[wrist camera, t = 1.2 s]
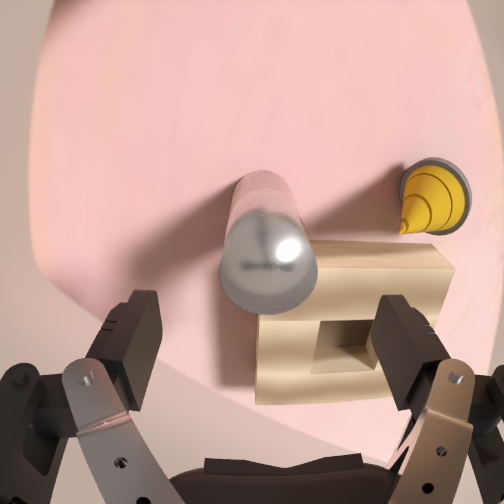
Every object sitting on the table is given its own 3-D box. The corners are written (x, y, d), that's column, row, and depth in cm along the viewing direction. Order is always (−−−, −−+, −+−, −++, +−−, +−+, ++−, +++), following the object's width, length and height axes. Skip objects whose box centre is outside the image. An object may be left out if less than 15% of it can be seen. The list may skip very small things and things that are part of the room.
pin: (232, 169, 21) (218, 229, 12) (292, 171, 21) (323, 231, 12) (232, 225, 23) (220, 313, 14) (289, 226, 23) (311, 315, 14)
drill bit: (436, 227, 23) (387, 288, 18) (404, 170, 24) (342, 208, 18) (489, 202, 19) (464, 261, 13) (454, 138, 19) (413, 164, 14)
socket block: (260, 239, 23) (262, 267, 20) (431, 244, 24) (455, 268, 20) (255, 372, 30) (255, 405, 26) (390, 366, 30) (401, 395, 26)
